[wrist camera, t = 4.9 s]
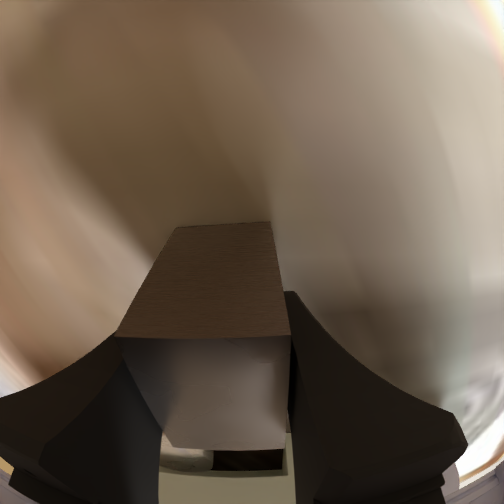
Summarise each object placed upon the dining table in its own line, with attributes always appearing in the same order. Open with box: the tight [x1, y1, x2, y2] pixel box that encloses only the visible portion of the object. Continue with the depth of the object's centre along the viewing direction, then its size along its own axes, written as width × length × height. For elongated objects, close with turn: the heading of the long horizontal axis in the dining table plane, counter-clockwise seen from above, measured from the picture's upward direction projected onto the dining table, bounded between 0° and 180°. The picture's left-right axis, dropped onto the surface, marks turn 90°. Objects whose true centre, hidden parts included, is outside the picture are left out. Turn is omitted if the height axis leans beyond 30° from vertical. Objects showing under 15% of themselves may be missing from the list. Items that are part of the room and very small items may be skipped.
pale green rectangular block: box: [158, 433, 296, 504], centre depth 16 cm, size 17×10×8 cm, turn 93°
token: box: [159, 432, 214, 473], centre depth 17 cm, size 5×5×2 cm
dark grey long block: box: [114, 222, 291, 450], centre depth 11 cm, size 4×16×6 cm, turn 3°
